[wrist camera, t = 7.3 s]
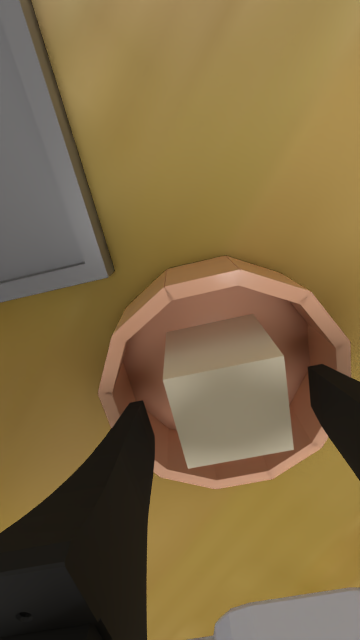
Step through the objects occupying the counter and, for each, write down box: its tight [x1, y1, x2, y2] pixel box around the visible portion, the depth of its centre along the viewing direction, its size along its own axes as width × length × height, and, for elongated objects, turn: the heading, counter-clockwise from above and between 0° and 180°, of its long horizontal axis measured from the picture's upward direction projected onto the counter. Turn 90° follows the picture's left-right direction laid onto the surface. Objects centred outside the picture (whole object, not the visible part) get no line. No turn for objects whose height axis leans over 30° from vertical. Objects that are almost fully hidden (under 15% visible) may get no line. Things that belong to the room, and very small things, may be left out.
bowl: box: [98, 256, 351, 489], centre depth 15 cm, size 11×11×4 cm
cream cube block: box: [163, 314, 294, 469], centre depth 14 cm, size 4×4×4 cm
